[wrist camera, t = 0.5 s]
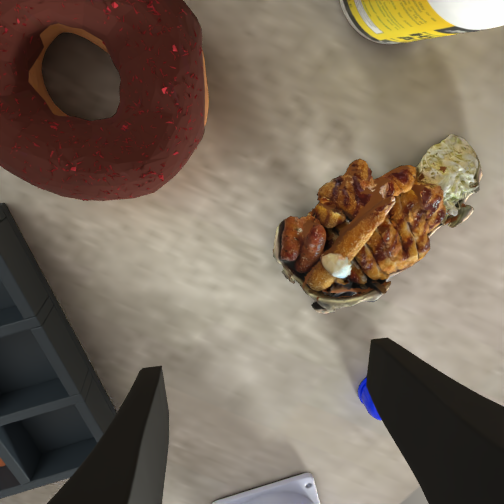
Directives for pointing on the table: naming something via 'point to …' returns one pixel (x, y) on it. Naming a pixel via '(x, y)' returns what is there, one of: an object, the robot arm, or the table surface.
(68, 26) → the donut
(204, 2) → the table surface
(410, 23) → the supplement bottle
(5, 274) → the grid
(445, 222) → the brown lumpy food piece
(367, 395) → the bottle cap
